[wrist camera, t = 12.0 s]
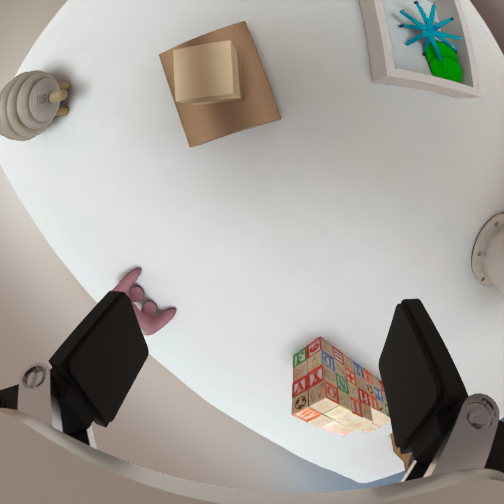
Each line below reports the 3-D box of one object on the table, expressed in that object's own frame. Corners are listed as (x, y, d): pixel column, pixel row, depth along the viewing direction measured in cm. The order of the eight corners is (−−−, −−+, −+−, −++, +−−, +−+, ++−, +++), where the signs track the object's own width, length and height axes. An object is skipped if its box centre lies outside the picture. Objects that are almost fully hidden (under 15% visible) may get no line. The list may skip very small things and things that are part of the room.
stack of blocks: (385, 383, 45) (398, 432, 34) (361, 397, 48) (369, 446, 37) (319, 335, 41) (326, 398, 30) (291, 355, 43) (290, 416, 32)
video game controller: (129, 269, 41) (101, 298, 37) (139, 264, 38) (107, 295, 34) (168, 313, 44) (143, 343, 40) (180, 312, 41) (153, 345, 37)
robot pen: (438, -1, 16) (455, -12, 12) (458, 98, 23) (480, 97, 18) (352, -22, 18) (361, -39, 13) (372, 82, 25) (387, 75, 20)
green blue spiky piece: (384, 9, 18) (440, -3, 12) (399, 3, 19) (446, -6, 13) (425, 91, 25) (478, 91, 18) (434, 75, 26) (480, 74, 19)
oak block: (241, 57, 22) (230, 40, 17) (244, 100, 25) (233, 93, 19) (194, 63, 23) (173, 50, 18) (196, 105, 25) (175, 101, 20)
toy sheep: (26, 88, 27) (-21, 92, 17) (94, 56, 25) (40, 46, 15) (26, 143, 31) (-21, 157, 22) (92, 124, 30) (36, 131, 20)
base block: (249, 32, 24) (244, 20, 20) (280, 119, 29) (280, 118, 25) (172, 61, 26) (158, 54, 23) (200, 144, 31) (190, 147, 27)
